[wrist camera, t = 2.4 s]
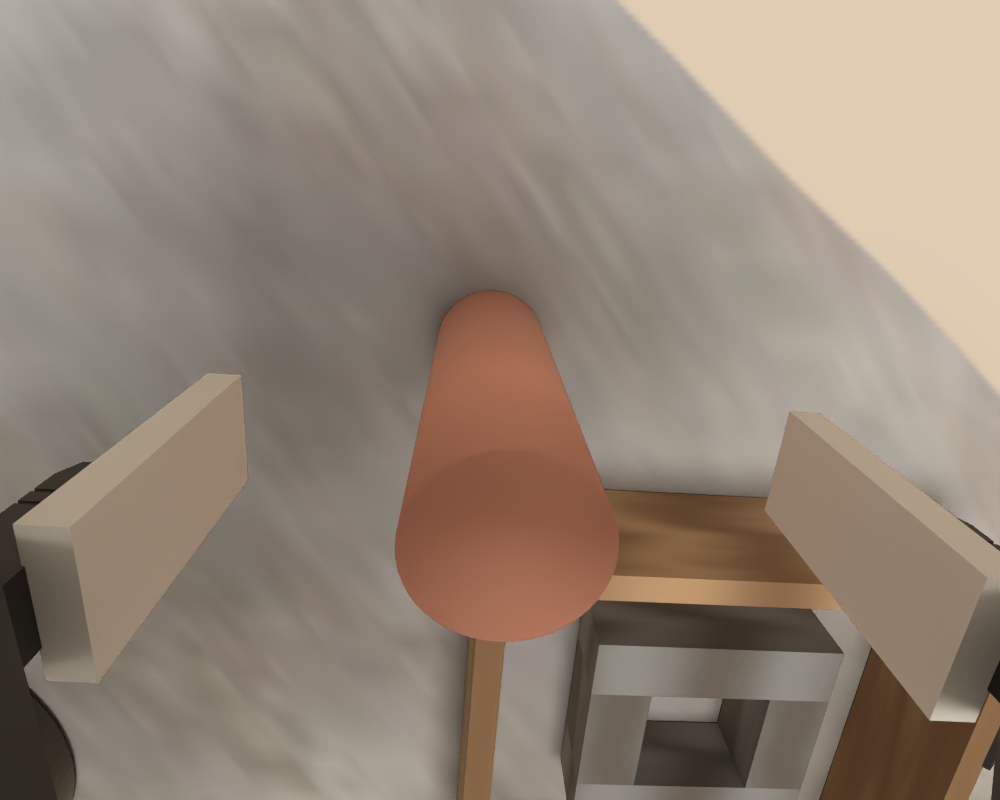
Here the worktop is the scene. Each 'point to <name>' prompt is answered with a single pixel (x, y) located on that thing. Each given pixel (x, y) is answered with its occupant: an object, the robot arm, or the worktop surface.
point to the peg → (502, 484)
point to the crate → (721, 676)
